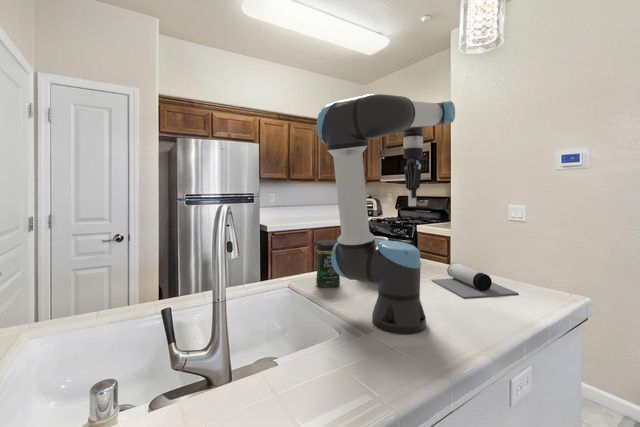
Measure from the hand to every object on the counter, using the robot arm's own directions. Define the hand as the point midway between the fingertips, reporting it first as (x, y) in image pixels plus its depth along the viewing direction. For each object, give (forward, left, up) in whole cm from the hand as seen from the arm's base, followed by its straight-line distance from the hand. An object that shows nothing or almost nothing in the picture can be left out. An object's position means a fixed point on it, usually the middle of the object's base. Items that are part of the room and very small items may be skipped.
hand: (412, 206), depth 129 cm
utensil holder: (+11, +14, -32) cm, 37 cm away
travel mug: (+2, -20, -28) cm, 35 cm away
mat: (-11, -20, -32) cm, 39 cm away
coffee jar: (+3, +35, -32) cm, 48 cm away
